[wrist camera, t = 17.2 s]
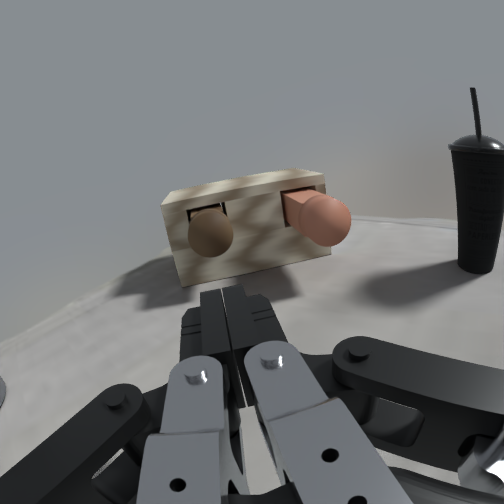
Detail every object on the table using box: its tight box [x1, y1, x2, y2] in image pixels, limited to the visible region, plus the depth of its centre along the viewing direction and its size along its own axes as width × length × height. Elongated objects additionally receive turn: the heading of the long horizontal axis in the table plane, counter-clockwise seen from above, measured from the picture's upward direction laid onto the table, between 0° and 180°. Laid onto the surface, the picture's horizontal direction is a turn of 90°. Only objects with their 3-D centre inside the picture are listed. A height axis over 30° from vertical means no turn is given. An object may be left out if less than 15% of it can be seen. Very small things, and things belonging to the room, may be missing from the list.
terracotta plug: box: [280, 187, 351, 247], centre depth 35 cm, size 5×16×5 cm, turn 9°
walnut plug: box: [188, 203, 233, 258], centre depth 37 cm, size 5×16×5 cm, turn 9°
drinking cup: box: [448, 88, 504, 274], centre depth 24 cm, size 8×8×20 cm
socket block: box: [161, 168, 331, 287], centre depth 41 cm, size 20×12×10 cm, turn 99°
